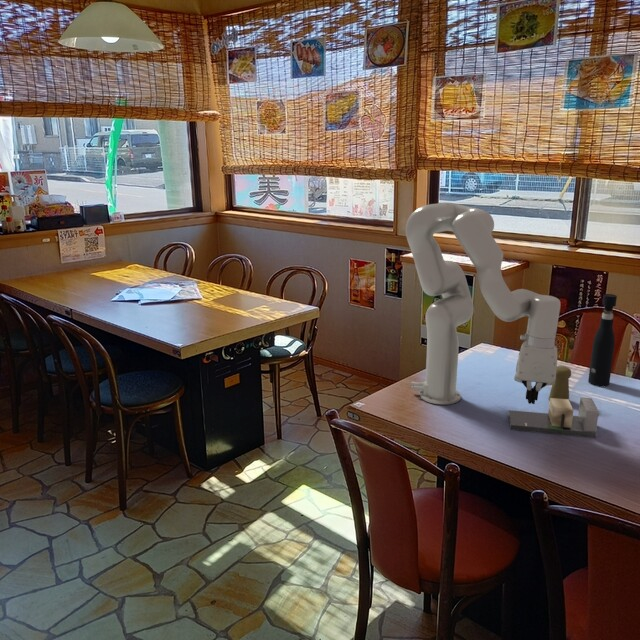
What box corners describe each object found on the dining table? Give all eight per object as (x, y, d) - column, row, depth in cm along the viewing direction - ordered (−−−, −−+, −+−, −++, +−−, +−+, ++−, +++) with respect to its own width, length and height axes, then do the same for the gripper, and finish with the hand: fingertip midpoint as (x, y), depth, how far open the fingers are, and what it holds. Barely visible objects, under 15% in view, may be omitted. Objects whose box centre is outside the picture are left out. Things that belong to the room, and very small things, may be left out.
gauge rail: (510, 429, 168) (513, 405, 166) (508, 414, 177) (510, 391, 175) (595, 437, 163) (599, 412, 161) (588, 421, 172) (591, 397, 170)
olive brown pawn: (571, 405, 183) (575, 371, 180) (550, 403, 184) (553, 370, 181) (567, 397, 189) (571, 364, 186) (547, 396, 190) (550, 363, 187)
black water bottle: (610, 381, 201) (622, 294, 193) (607, 388, 196) (619, 298, 188) (589, 378, 205) (600, 292, 196) (586, 384, 199) (597, 296, 191)
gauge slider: (552, 427, 165) (554, 410, 163) (548, 413, 173) (549, 397, 172) (572, 429, 164) (574, 412, 162) (566, 415, 172) (568, 399, 171)
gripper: (512, 342, 162) (504, 404, 168) (571, 348, 159) (560, 411, 165) (510, 333, 169) (502, 393, 175) (566, 339, 166) (556, 399, 172)
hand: (530, 401), depth 170 cm, fingers closed
